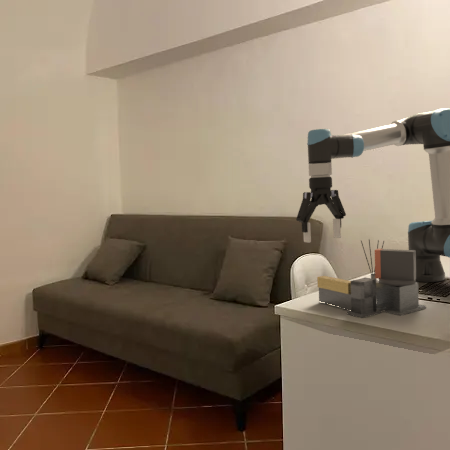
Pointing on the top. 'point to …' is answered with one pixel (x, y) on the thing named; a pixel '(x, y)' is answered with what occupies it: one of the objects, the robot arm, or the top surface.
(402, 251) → the grey block orange side
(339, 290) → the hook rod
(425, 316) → the top surface
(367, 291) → the eye bracket
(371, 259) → the reed diffuser
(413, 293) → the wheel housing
